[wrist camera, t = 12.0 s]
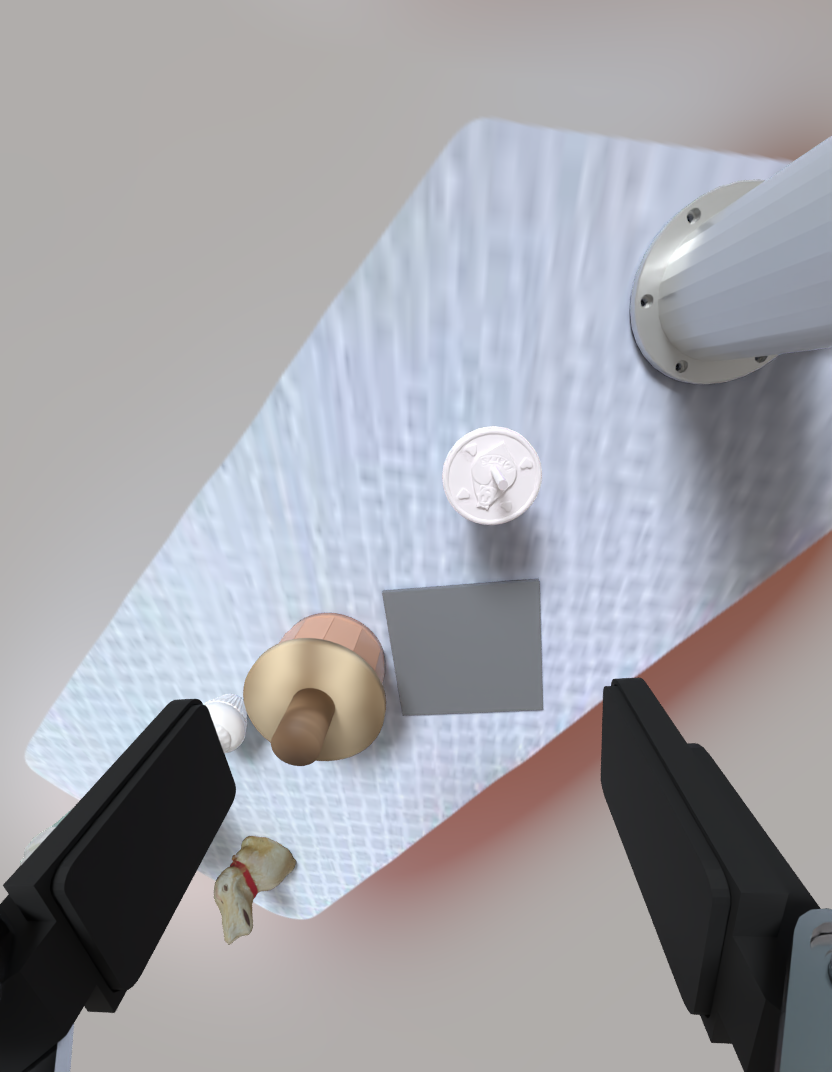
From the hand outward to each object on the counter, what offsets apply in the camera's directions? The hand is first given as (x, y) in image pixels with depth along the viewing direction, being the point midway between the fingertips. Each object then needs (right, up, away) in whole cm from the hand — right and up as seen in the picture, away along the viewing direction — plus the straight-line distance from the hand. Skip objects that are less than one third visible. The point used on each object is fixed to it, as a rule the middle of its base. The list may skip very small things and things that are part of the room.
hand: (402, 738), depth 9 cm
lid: (-9, -10, +28) cm, 31 cm away
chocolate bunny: (-20, -37, +45) cm, 62 cm away
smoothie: (+6, +12, +26) cm, 29 cm away
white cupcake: (-21, -15, +37) cm, 45 cm away
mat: (+5, -7, +32) cm, 33 cm away
